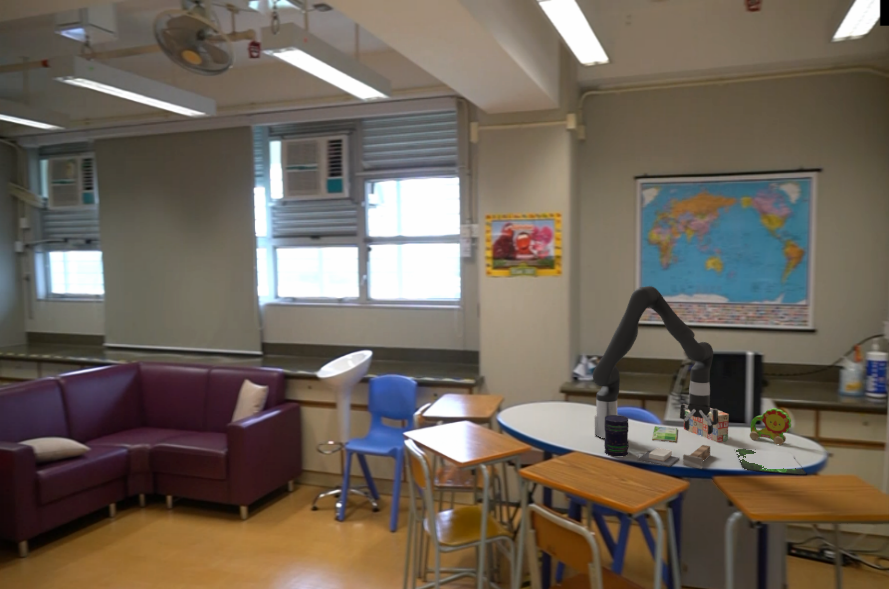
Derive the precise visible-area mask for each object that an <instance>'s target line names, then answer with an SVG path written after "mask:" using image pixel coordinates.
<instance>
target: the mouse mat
mask: <svg viewBox="0 0 889 589" xmlns="http://www.w3.org/2000/svg"><path fill="white" fill-rule="evenodd" d="M746 449H747V448H743V449H738V450H736V452H739V454H740V455H738V454H736V456H737V455H738V456H737V459H738V458H739V457H740V456H743V458H744V457H745V458H746V456H744V455H746V454H754V453H756V452H754V451H752V450H746ZM736 452H735V453H736ZM739 460H740V459H738V461H739ZM741 461H742V462H741ZM739 463H741V464H740V465H741V468H742V469H743V468H744V469H743V470H745V469H747V470H746V471H749V470H753V471H752V472H760V471H762V472H764V473H773V474H784V475H796V476H798V475H799V476H804V475H806V474H807V472H806V471H805V470H804V468H803V467H802V469H796V468H795V469H784V468H783V469H767V468H764V466H763V467H762V465H758V464H755V463H749V462H747V461H745V460H744V459H742V460H740V461H739ZM762 468H764V469H762ZM766 469H767V470H766Z"/></svg>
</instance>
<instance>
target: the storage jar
mask: <svg viewBox="0 0 889 589" xmlns="http://www.w3.org/2000/svg"><path fill="white" fill-rule="evenodd" d="M604 427H605V428H604V429H605V439H604V445H603V446H604V454H605V453H606V455H607V454H608V455H607V456H609V455H611V456H610V457H614V456H623V457H626V455H627V456H628V455H629V446H630V445H629V438H628V437H629V434H628V433H629V418H628V417H626V416H624V415H618V414H617V415H609V416H606V417H605V423H604Z"/></svg>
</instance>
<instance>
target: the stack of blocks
mask: <svg viewBox="0 0 889 589" xmlns="http://www.w3.org/2000/svg"><path fill="white" fill-rule="evenodd" d="M710 409H713V408H711V407H710ZM689 413H690V411H689V409H686V410H685V416H686V417H687V415H688V414H689ZM708 414H709V416H710V417H711V419H712V421H713V415H712V413H711V412H709V413H708ZM729 415H730V414H729V413H726V412H723V411H722V410H719V409H718V424H716V425H713V432H712V433H711V434H710V435H709V434H708V425H709V424H708V423H707V421H705V419H704V418H699V417H694V416H692V417H691V418H690V419H689V420H690V426H689V430H686V428H685V421H684V420H683V430H686V431H688V432H690V433H693V434H695V435H698V436H700V435H701V436H700V437H704V438H705V439H707V440H710V439H711V440H710V441H713V442H716V443H720V442H721V443H722V442H727V440H728V441H729V421H730V420H729V417H730V416H729Z"/></svg>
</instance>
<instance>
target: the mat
mask: <svg viewBox="0 0 889 589" xmlns="http://www.w3.org/2000/svg"><path fill="white" fill-rule="evenodd" d="M651 452H652V451H646V452H645V453H643V454H642V455H640V456H639V457H637V461H640V462H644V461H645V463H649V462H651V463H650V464H653V463H654V464H655V465H659V466H662V467H668V468H670V467H671V466H672V465H674V464H675V463H676V462H678V461H680V457H677V456H672V455H671V456H670V457H669V458H667V459H666V460H665V461H660V460H655V459H650V458H649V453H651ZM677 460H678V461H677Z"/></svg>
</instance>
